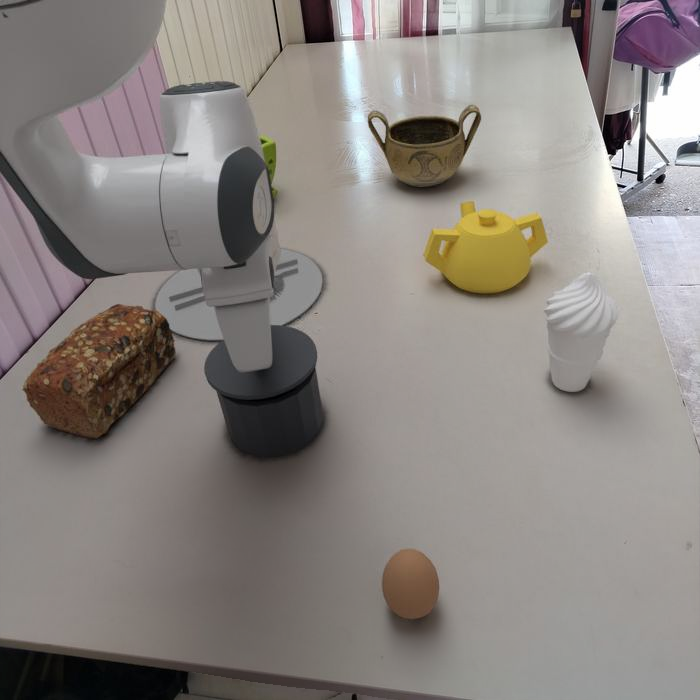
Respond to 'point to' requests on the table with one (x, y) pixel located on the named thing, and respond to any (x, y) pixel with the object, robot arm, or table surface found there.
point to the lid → (284, 374)
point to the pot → (275, 420)
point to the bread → (100, 370)
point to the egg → (410, 584)
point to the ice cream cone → (578, 330)
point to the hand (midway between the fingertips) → (259, 351)
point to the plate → (200, 320)
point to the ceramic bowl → (425, 146)
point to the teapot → (485, 249)
